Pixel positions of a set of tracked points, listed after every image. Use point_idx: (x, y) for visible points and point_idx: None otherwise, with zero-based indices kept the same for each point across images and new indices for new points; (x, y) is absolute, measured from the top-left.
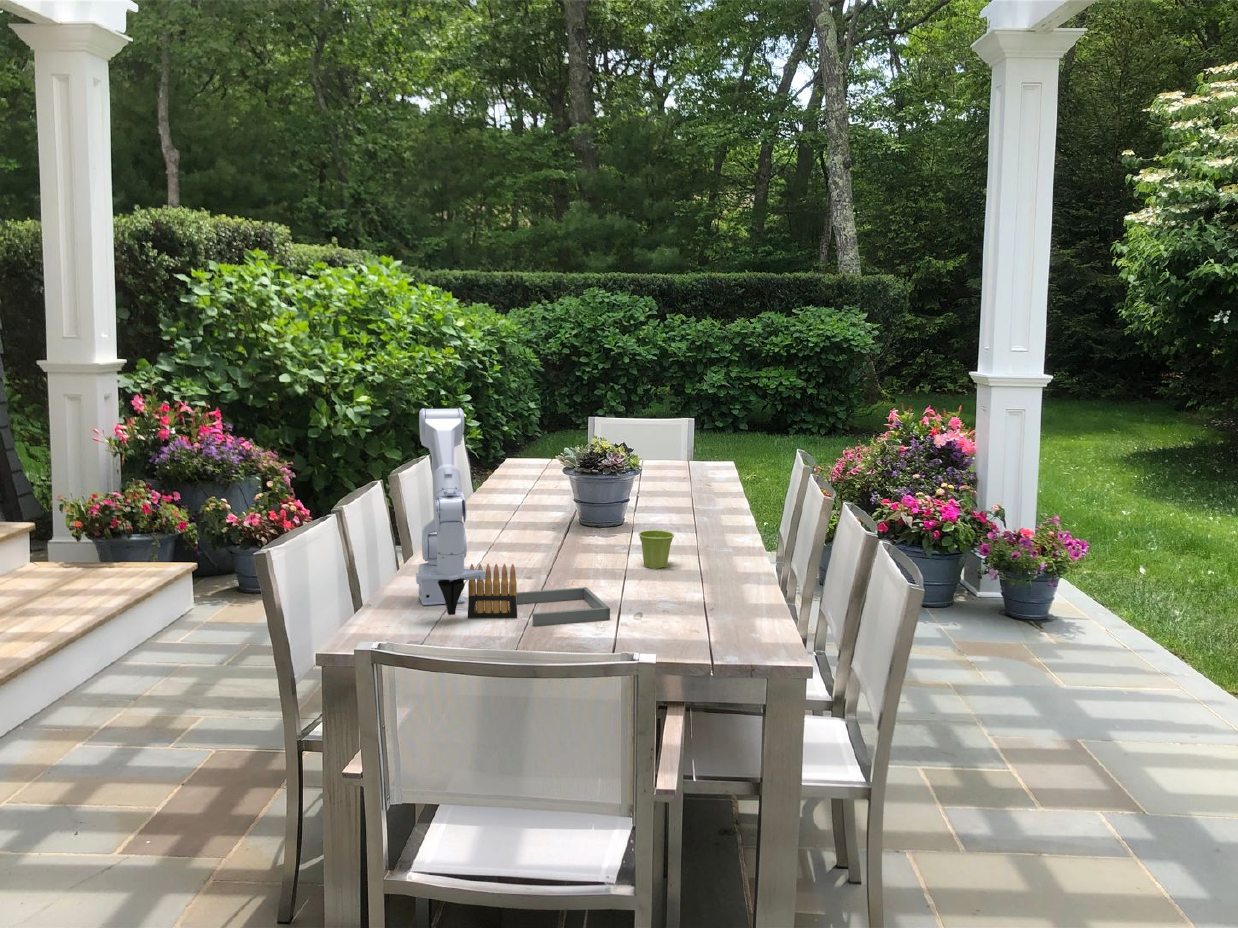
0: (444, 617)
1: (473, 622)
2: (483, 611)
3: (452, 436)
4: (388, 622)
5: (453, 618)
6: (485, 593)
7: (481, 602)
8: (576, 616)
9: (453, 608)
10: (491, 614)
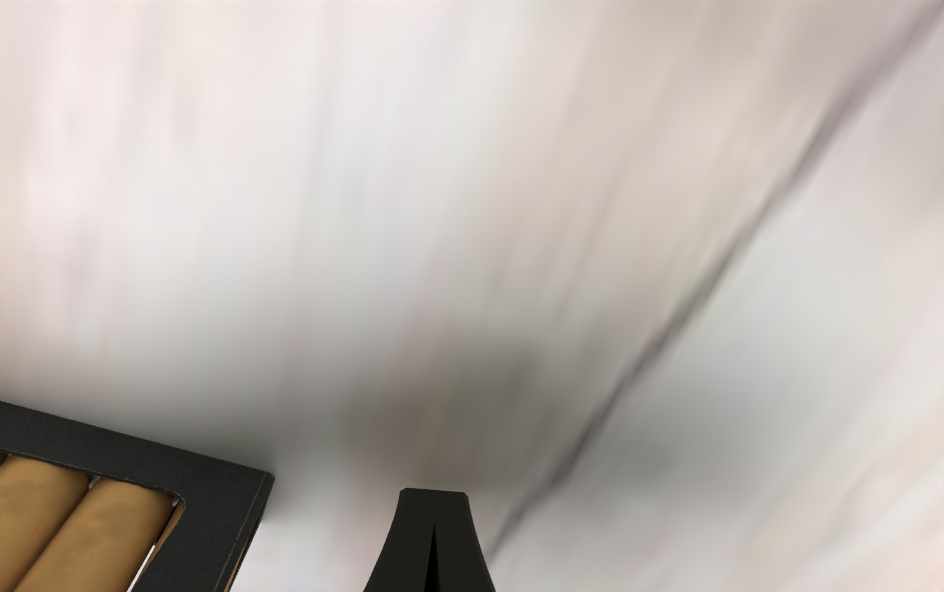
0: None
1: (238, 349)
2: (86, 495)
3: None
4: (906, 561)
5: None
6: None
7: (39, 587)
8: None
9: (417, 540)
10: (12, 436)
